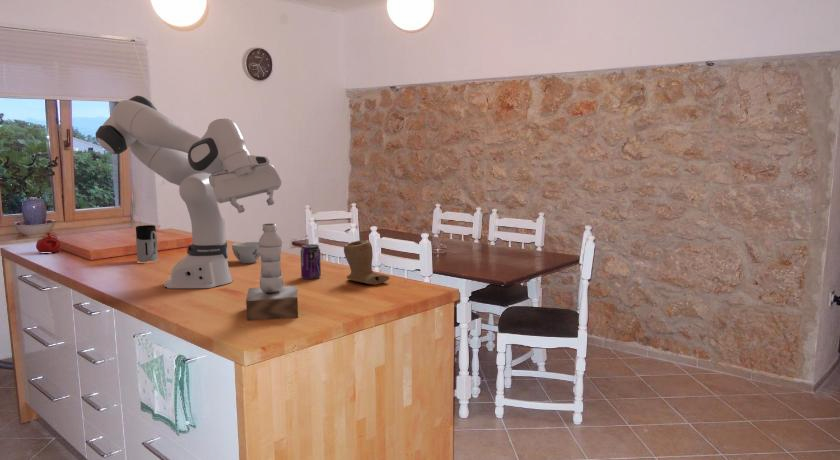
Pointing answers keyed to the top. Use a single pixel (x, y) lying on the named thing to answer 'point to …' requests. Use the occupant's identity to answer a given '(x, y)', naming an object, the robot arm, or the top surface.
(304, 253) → the beverage can
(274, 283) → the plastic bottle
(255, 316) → the metal riser
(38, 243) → the pomegranate
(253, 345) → the top surface
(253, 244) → the teacup
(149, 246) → the grey and black mug
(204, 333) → the top surface
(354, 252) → the brown boot
